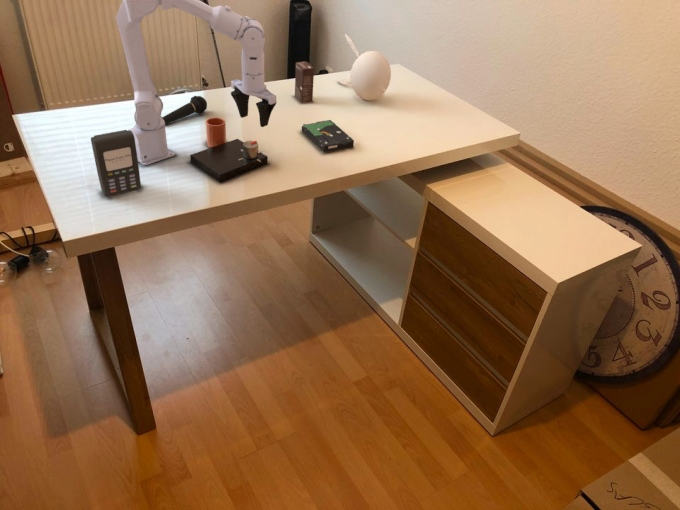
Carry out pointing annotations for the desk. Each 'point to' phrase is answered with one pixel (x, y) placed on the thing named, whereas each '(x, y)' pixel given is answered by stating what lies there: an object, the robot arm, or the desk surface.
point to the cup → (215, 131)
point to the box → (304, 82)
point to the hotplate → (226, 161)
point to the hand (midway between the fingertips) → (254, 121)
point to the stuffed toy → (368, 74)
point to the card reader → (116, 162)
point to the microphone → (187, 109)
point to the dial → (250, 149)
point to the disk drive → (327, 136)
